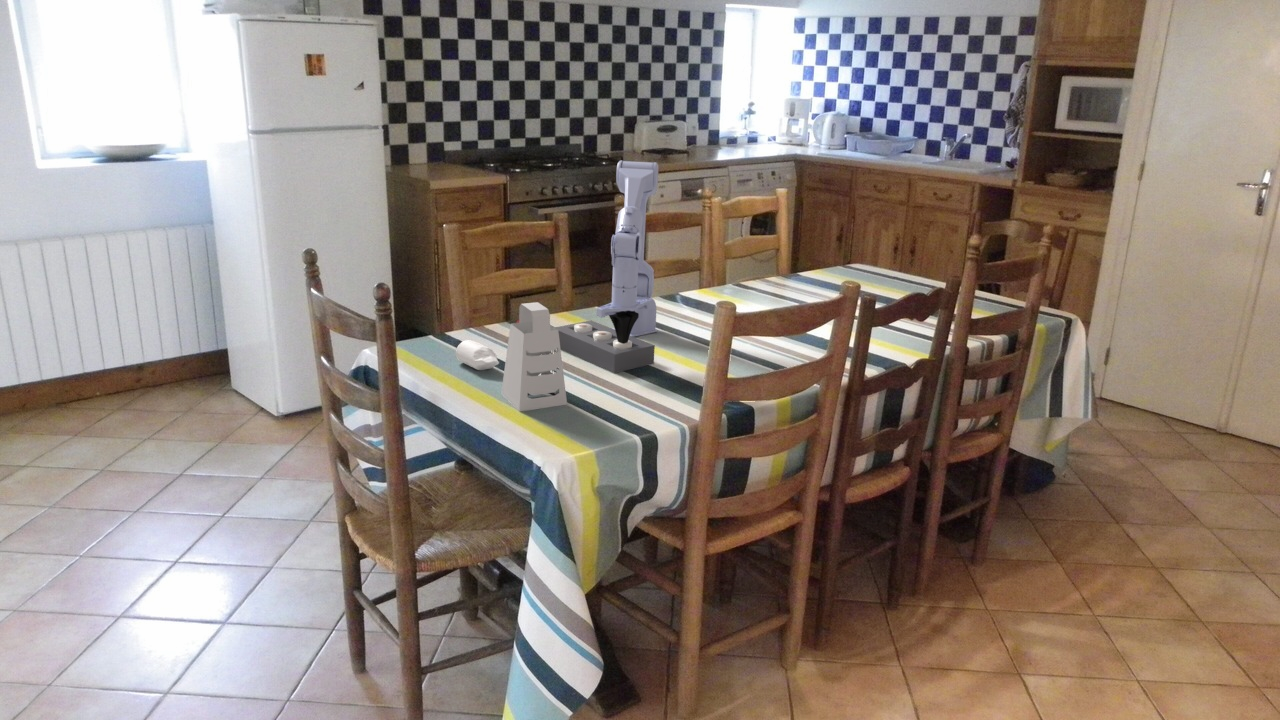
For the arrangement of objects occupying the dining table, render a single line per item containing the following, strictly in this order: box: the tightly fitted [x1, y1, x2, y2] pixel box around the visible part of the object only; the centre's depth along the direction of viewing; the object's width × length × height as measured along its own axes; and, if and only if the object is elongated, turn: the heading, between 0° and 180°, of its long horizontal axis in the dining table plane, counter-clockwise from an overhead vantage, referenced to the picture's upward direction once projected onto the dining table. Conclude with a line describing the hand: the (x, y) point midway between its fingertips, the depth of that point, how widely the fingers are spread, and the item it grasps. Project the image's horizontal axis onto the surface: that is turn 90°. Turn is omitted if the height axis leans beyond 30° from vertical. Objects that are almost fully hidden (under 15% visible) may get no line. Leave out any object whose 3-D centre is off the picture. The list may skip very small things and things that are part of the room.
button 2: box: [613, 340, 632, 350], centre depth 218 cm, size 4×4×3 cm
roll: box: [455, 339, 500, 371], centre depth 211 cm, size 6×12×6 cm, turn 41°
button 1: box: [574, 323, 592, 333], centre depth 229 cm, size 4×4×3 cm
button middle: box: [593, 331, 612, 341], centre depth 224 cm, size 4×4×3 cm
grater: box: [500, 301, 568, 412], centre depth 192 cm, size 10×10×20 cm
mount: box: [554, 319, 656, 374], centre depth 224 cm, size 12×24×4 cm, turn 41°
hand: (622, 342), depth 218 cm, fingers closed, pressing on button 2
